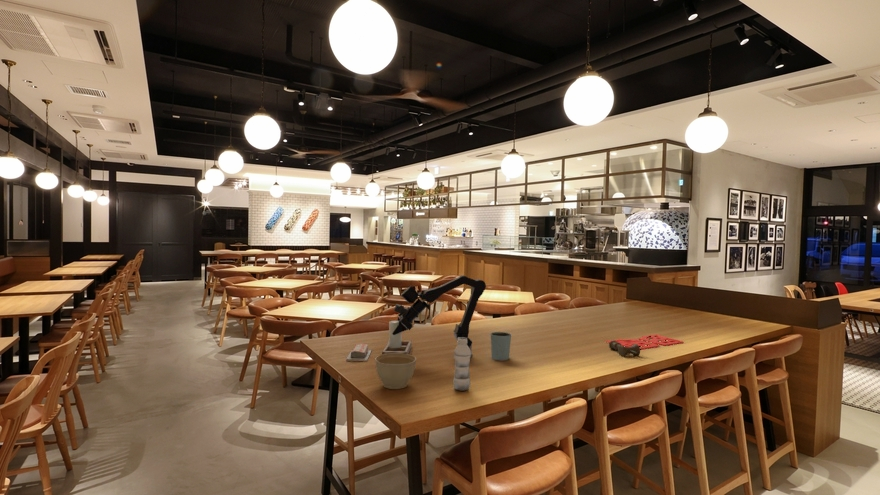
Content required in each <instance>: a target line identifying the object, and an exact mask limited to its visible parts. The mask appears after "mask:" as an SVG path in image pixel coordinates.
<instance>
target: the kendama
mask: <svg viewBox="0 0 880 495" xmlns="http://www.w3.org/2000/svg"><path fill="white" fill-rule="evenodd" d="M610 341H611V340H610ZM608 347H609V349H610V350H612V349H615V350H614V351H616V352H617V353H618V355H619V356H620V355H621V356H620V357H623V356H624V357H625V356H626V355H630V354H631V355H634V356H637V357H638V356H640V354H641V350H640V348H639V346H638V345H637V344H633V345H632V346H631V347H624V346H622V345H621V343H617V342H616V341H611V342H610V343H608Z"/></svg>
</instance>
